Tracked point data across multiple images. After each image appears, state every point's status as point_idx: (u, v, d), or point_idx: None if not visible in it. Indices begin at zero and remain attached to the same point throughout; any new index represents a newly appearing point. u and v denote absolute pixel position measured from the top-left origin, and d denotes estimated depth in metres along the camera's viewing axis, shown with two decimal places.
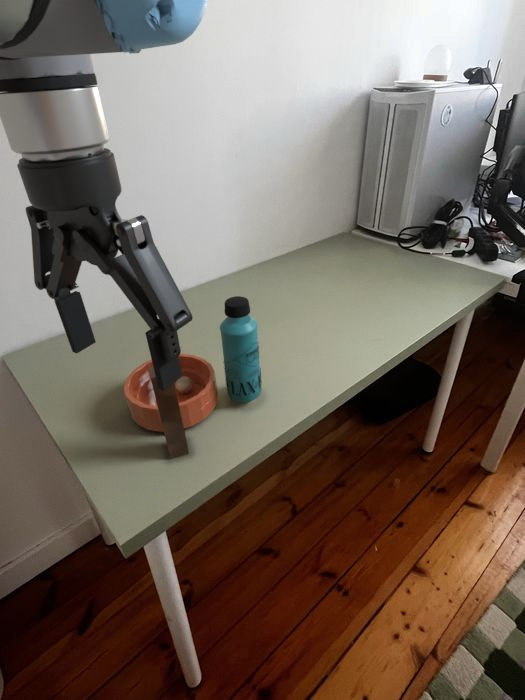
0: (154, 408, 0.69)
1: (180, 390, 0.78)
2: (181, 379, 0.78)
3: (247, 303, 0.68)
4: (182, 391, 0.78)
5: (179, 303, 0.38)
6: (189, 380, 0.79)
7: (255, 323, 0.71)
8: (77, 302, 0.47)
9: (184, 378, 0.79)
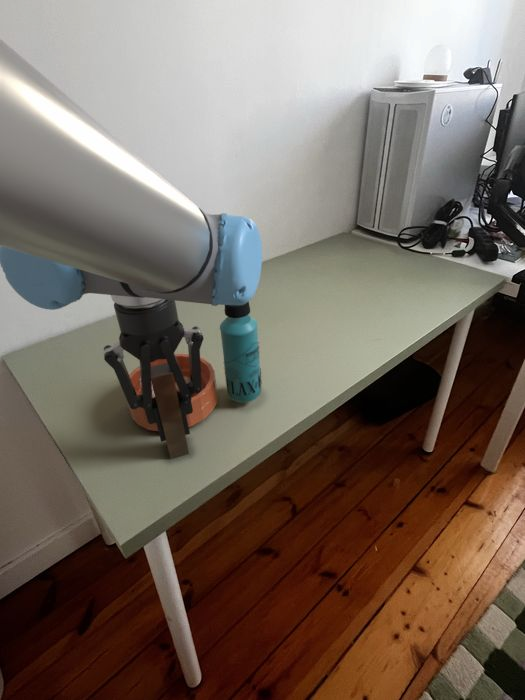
0: None
1: None
2: None
3: (247, 303, 0.68)
4: None
5: None
6: (189, 380, 0.79)
7: (255, 323, 0.71)
8: None
9: (184, 378, 0.79)
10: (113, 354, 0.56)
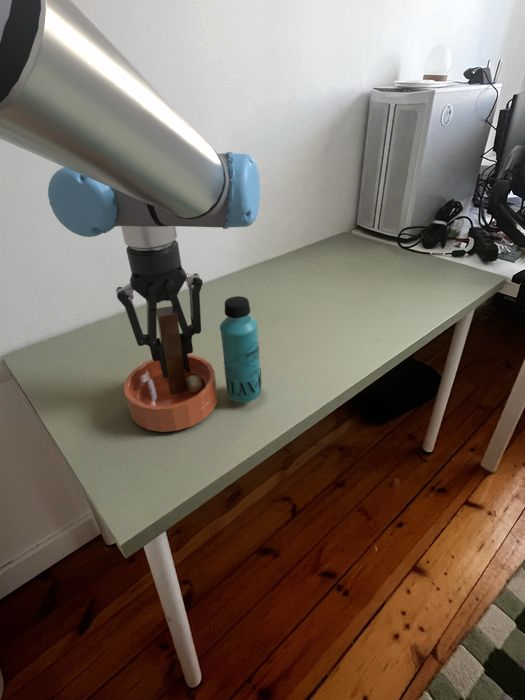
0: (154, 408, 0.69)
1: (193, 385, 0.78)
2: (199, 377, 0.79)
3: (247, 303, 0.68)
4: (193, 387, 0.78)
5: None
6: None
7: (255, 323, 0.71)
8: None
9: (201, 379, 0.80)
10: (125, 293, 0.65)
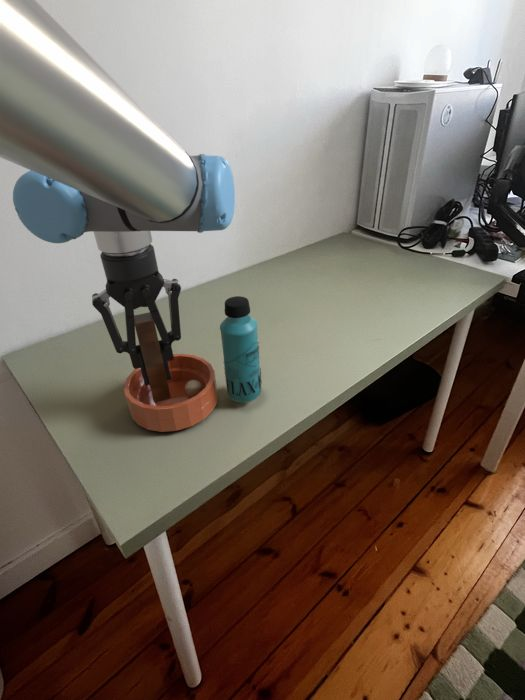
0: (154, 408, 0.69)
1: (197, 387, 0.77)
2: None
3: (247, 303, 0.68)
4: (198, 389, 0.77)
5: None
6: None
7: (255, 323, 0.71)
8: None
9: None
10: (100, 300, 0.64)
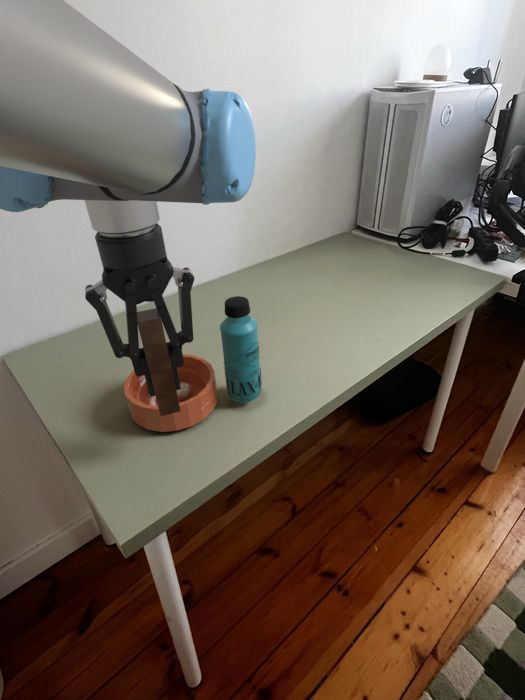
0: (154, 408, 0.69)
1: (180, 393, 0.76)
2: None
3: (247, 303, 0.68)
4: (182, 392, 0.76)
5: None
6: (182, 382, 0.78)
7: (255, 323, 0.71)
8: None
9: None
10: (95, 293, 0.51)
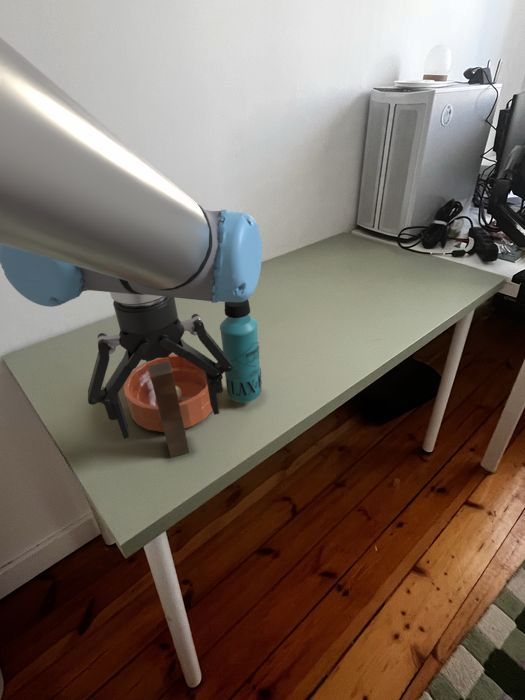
0: (154, 408, 0.69)
1: None
2: None
3: (247, 303, 0.68)
4: None
5: (224, 353, 0.64)
6: None
7: (255, 323, 0.71)
8: (119, 399, 0.62)
9: None
10: (108, 344, 0.55)
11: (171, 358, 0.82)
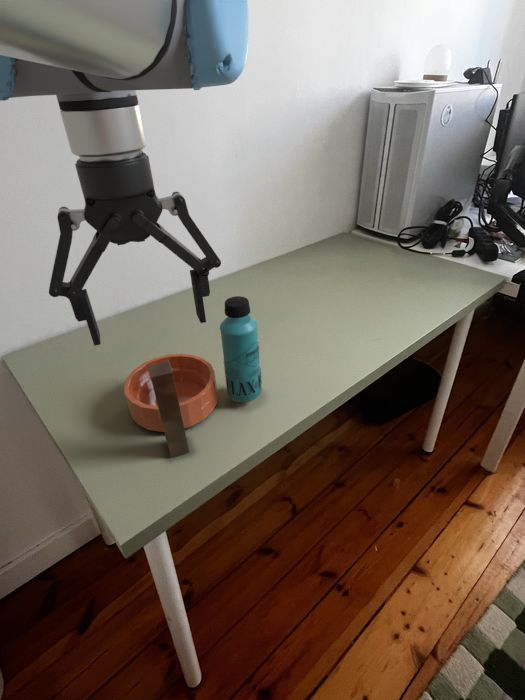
0: (154, 408, 0.69)
1: None
2: None
3: (247, 303, 0.68)
4: None
5: None
6: None
7: (255, 323, 0.71)
8: (88, 297, 0.53)
9: None
10: (70, 217, 0.46)
11: (171, 358, 0.82)
